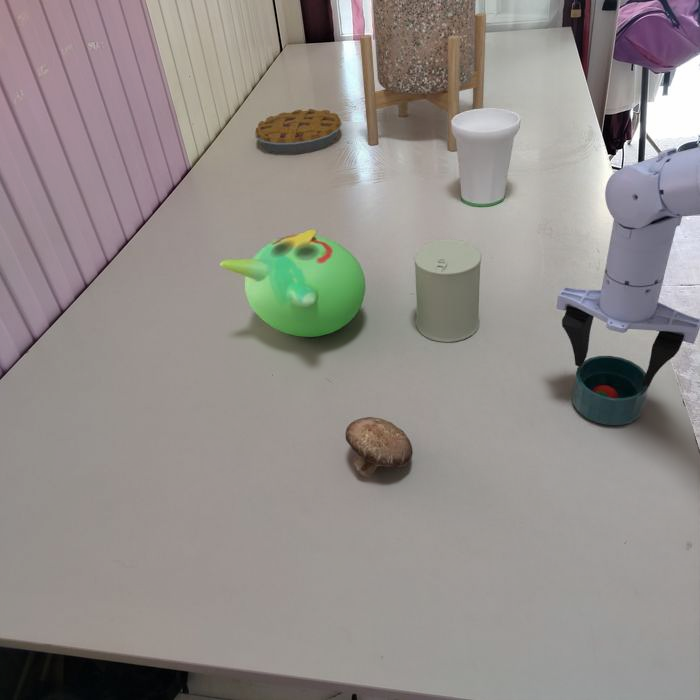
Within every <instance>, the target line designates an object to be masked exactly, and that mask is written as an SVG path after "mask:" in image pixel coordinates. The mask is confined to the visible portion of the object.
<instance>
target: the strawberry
mask: <svg viewBox="0 0 700 700" xmlns="http://www.w3.org/2000/svg"><path fill="white" fill-rule="evenodd" d="M592 391H593V392H594V393H597V394H599V395H602V396H605V397H611V398H618V394H617V392H616V391H615V390H614V389H613V388H612V387H610V386H607V385H600V386H597V387H595V388H594V389H593V390H592Z"/></svg>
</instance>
